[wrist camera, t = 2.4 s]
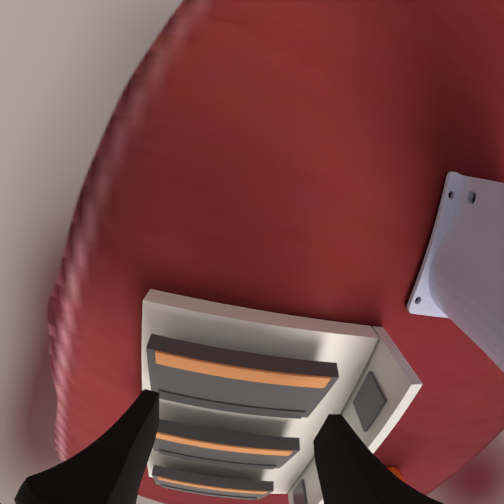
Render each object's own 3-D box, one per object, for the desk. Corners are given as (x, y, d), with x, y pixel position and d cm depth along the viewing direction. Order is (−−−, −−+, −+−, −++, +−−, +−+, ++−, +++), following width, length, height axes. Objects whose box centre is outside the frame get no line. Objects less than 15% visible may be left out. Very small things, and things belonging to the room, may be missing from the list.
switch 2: (151, 416, 16) (147, 430, 15) (299, 437, 17) (300, 451, 16) (155, 440, 19) (153, 452, 18) (279, 458, 20) (279, 469, 19)
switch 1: (151, 333, 14) (145, 349, 13) (336, 362, 15) (339, 379, 14) (155, 382, 17) (151, 396, 16) (306, 405, 18) (307, 419, 17)
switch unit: (150, 288, 17) (112, 345, 11) (382, 327, 18) (422, 384, 12) (151, 465, 23) (140, 511, 17) (293, 482, 24) (299, 527, 18)
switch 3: (153, 464, 18) (151, 475, 17) (273, 481, 19) (273, 492, 18) (157, 476, 21) (156, 485, 20) (260, 490, 22) (260, 500, 21)
